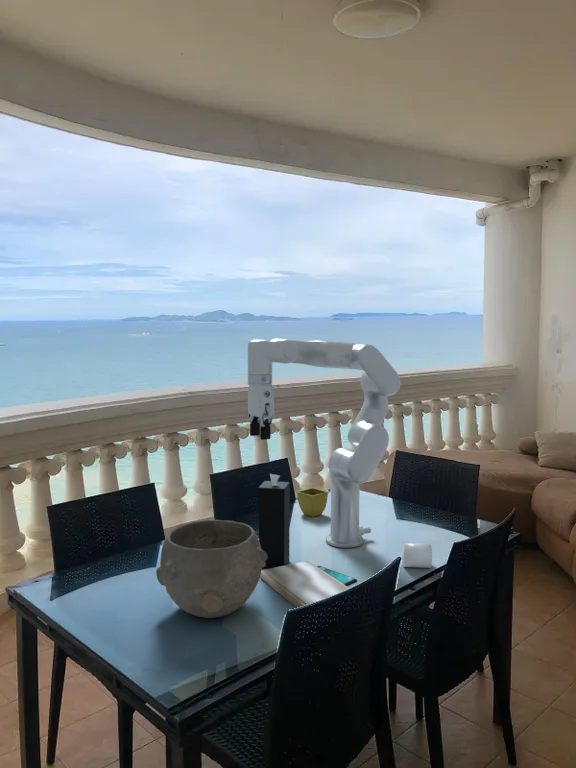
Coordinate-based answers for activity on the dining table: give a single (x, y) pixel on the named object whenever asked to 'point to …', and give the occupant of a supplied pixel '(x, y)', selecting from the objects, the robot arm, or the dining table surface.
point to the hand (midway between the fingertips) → (260, 436)
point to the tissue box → (274, 521)
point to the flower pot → (312, 501)
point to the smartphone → (339, 576)
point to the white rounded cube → (417, 555)
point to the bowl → (211, 566)
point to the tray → (302, 583)
